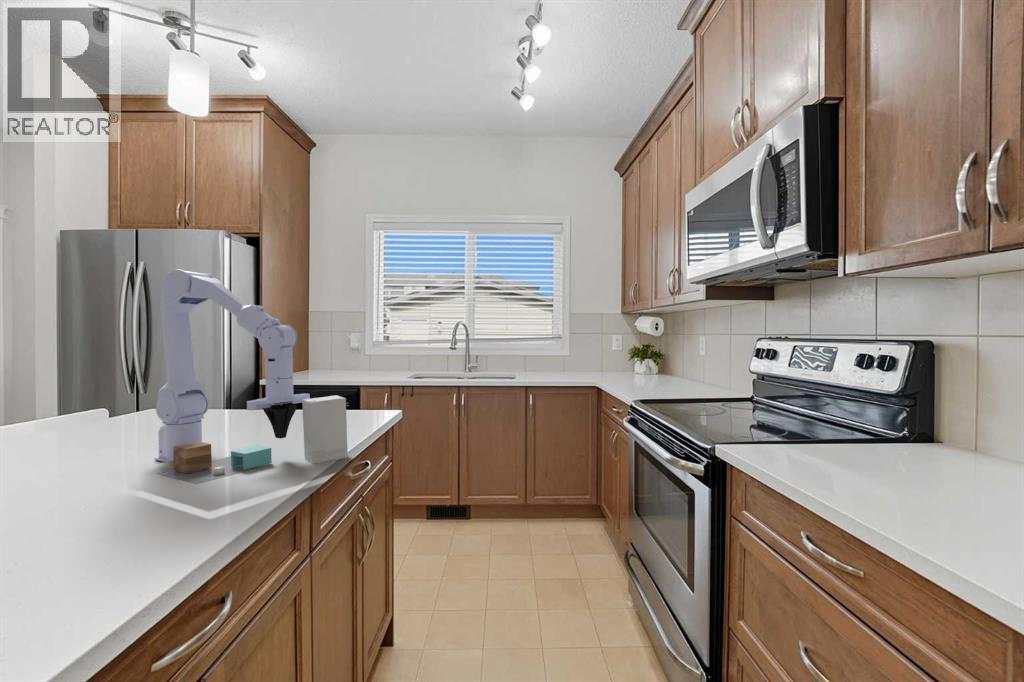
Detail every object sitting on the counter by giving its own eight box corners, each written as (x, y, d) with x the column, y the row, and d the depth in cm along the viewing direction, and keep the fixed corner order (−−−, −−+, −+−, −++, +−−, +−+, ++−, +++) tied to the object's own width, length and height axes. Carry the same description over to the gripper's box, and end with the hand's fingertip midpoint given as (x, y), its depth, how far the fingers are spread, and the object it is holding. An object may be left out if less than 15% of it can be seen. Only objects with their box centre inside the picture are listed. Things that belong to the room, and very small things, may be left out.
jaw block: (173, 470, 105) (173, 446, 104) (198, 464, 109) (198, 441, 109) (186, 473, 102) (186, 448, 102) (211, 467, 106) (211, 444, 106)
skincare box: (339, 457, 119) (338, 394, 119) (348, 462, 115) (347, 397, 114) (302, 463, 114) (301, 397, 114) (311, 468, 109) (310, 400, 109)
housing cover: (231, 466, 107) (230, 451, 107) (257, 460, 112) (257, 445, 112) (245, 469, 105) (244, 453, 104) (271, 462, 110) (271, 447, 110)
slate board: (156, 477, 103) (155, 460, 103) (232, 460, 117) (232, 445, 117) (196, 489, 96) (196, 470, 96) (273, 468, 110) (272, 452, 109)
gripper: (260, 381, 106) (261, 445, 106) (317, 375, 118) (319, 433, 119) (240, 380, 109) (241, 442, 110) (298, 374, 122) (299, 430, 122)
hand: (280, 437), depth 114 cm, fingers closed
